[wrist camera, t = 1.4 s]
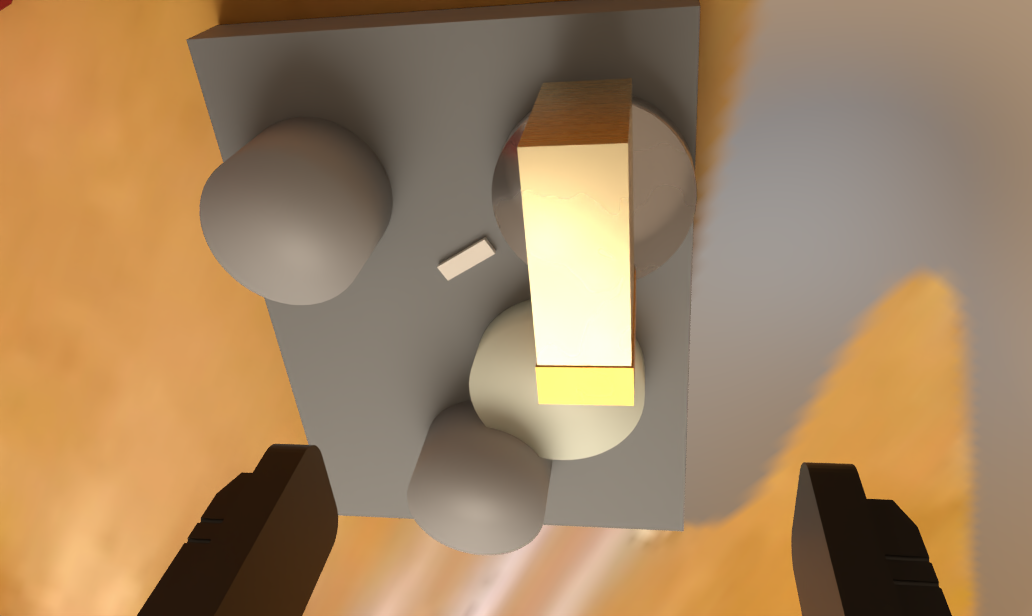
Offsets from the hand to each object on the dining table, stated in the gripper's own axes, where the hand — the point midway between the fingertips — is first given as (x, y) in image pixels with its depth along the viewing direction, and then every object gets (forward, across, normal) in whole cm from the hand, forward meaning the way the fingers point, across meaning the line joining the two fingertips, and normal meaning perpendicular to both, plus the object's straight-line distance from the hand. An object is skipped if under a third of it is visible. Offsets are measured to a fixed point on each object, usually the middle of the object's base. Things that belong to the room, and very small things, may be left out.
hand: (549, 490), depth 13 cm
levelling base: (+15, +4, +5) cm, 16 cm away
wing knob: (+13, 0, 0) cm, 13 cm away
